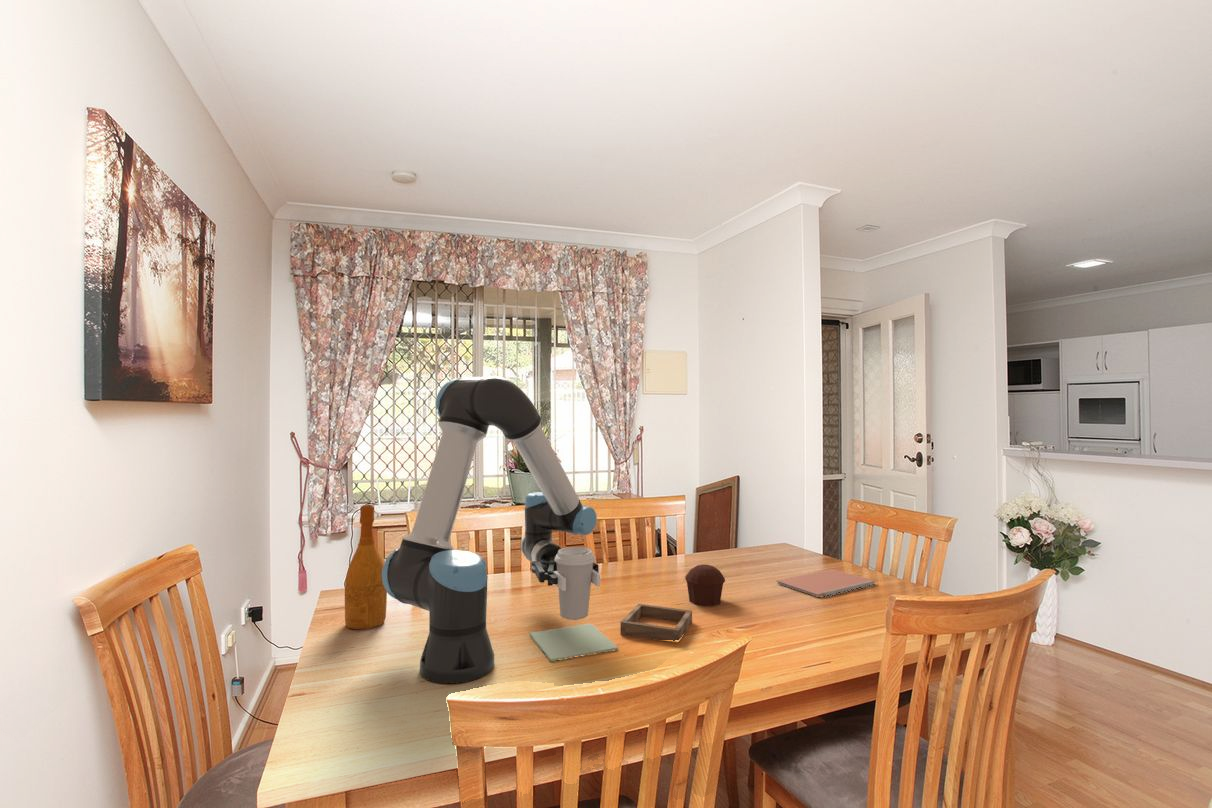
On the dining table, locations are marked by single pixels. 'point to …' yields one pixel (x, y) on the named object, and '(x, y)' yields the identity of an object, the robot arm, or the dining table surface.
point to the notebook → (826, 582)
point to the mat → (572, 641)
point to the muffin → (705, 585)
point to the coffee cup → (575, 581)
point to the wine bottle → (365, 580)
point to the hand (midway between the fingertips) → (581, 582)
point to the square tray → (654, 631)
